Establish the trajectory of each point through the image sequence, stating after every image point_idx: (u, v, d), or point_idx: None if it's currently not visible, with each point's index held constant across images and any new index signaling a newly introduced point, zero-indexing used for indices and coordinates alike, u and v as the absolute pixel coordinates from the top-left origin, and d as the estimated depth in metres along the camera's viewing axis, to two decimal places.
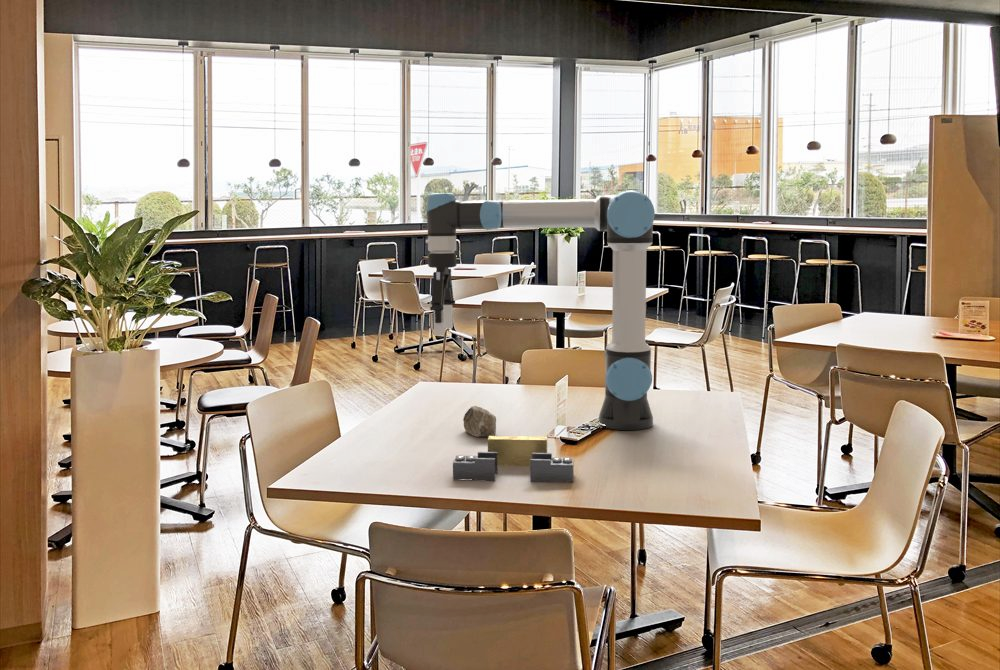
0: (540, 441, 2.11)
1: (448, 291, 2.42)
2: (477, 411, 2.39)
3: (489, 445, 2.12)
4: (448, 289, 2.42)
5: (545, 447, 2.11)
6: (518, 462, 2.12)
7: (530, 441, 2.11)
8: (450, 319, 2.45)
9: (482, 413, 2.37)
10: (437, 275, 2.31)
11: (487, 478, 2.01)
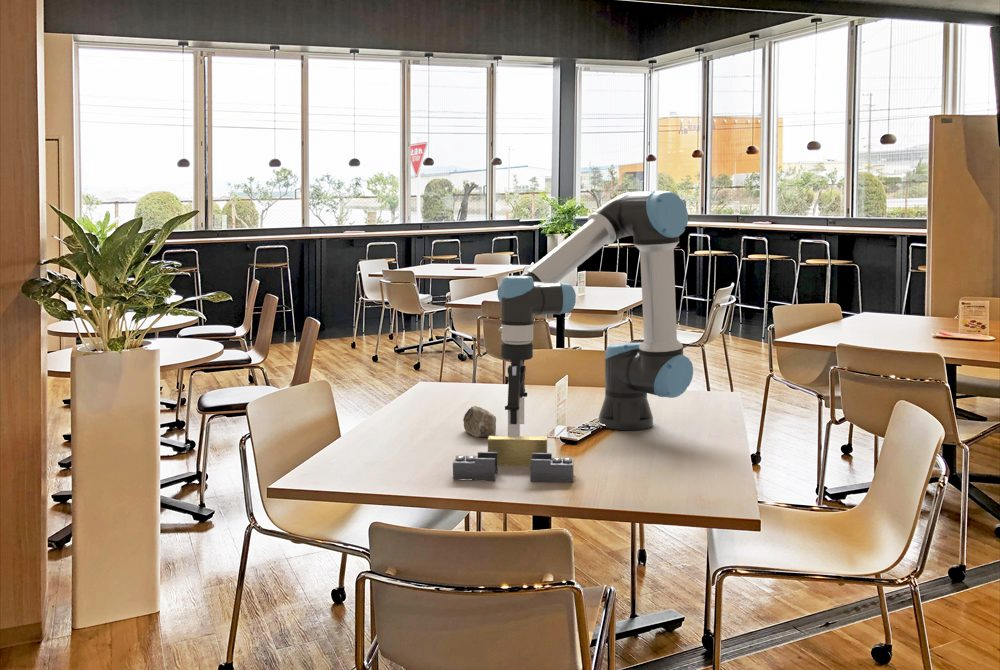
0: (540, 441, 2.11)
1: (521, 384, 2.15)
2: (477, 411, 2.39)
3: (489, 445, 2.12)
4: None
5: (545, 447, 2.11)
6: (518, 462, 2.12)
7: (530, 441, 2.11)
8: (522, 414, 2.18)
9: (482, 413, 2.37)
10: (513, 370, 2.04)
11: (487, 478, 2.01)
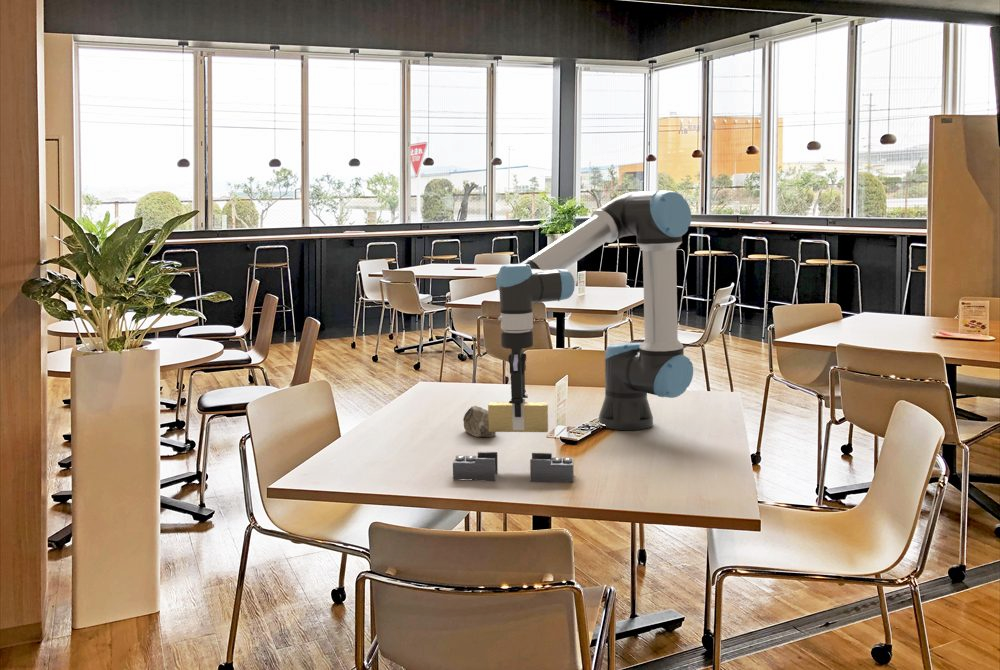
0: (541, 406, 2.10)
1: (522, 378, 2.13)
2: (477, 411, 2.39)
3: (489, 411, 2.12)
4: (522, 375, 2.12)
5: (546, 412, 2.10)
6: None
7: (531, 407, 2.10)
8: None
9: (482, 413, 2.37)
10: (514, 367, 2.04)
11: (487, 478, 2.01)
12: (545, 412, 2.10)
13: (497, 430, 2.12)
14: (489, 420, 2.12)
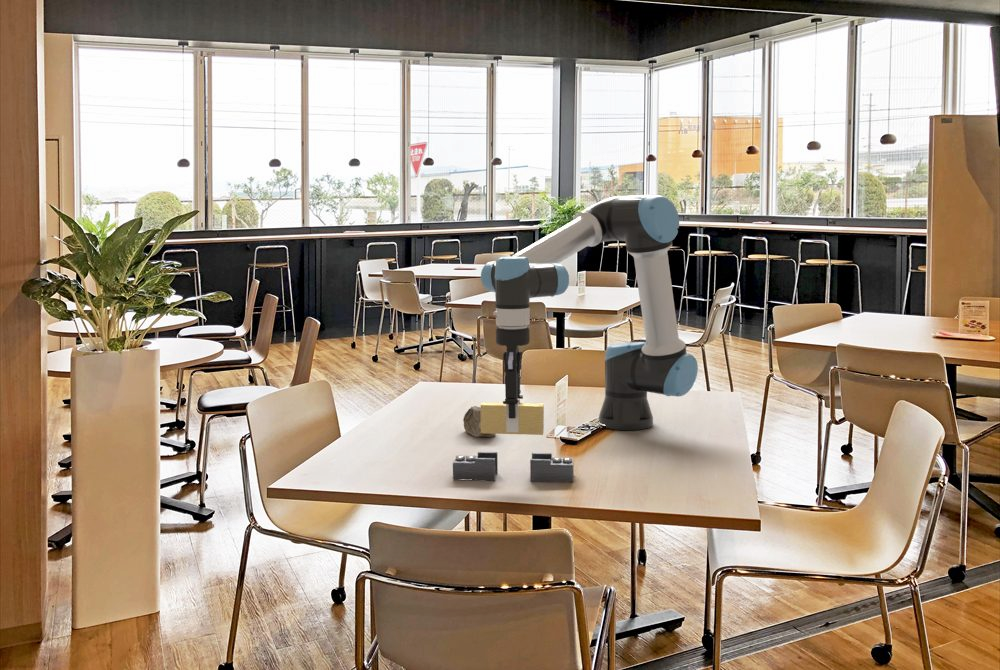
0: (536, 407, 1.99)
1: (517, 377, 2.01)
2: (477, 411, 2.39)
3: (482, 411, 2.00)
4: (517, 374, 2.01)
5: (541, 414, 1.99)
6: None
7: (525, 407, 1.99)
8: None
9: None
10: (509, 365, 1.93)
11: (487, 478, 2.01)
12: (541, 413, 1.99)
13: (489, 431, 2.01)
14: (481, 421, 2.00)
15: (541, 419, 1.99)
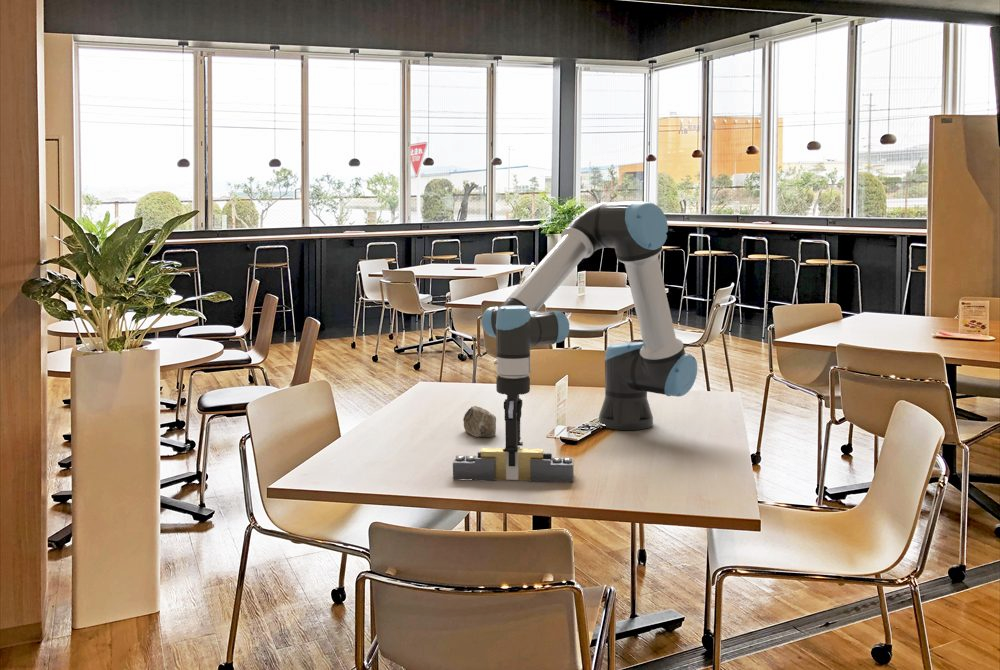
0: (536, 454, 2.00)
1: (517, 424, 2.03)
2: (477, 411, 2.39)
3: None
4: (517, 421, 2.02)
5: None
6: None
7: (525, 454, 2.00)
8: None
9: (482, 413, 2.37)
10: (509, 414, 1.95)
11: (487, 478, 2.01)
12: None
13: None
14: None
15: None
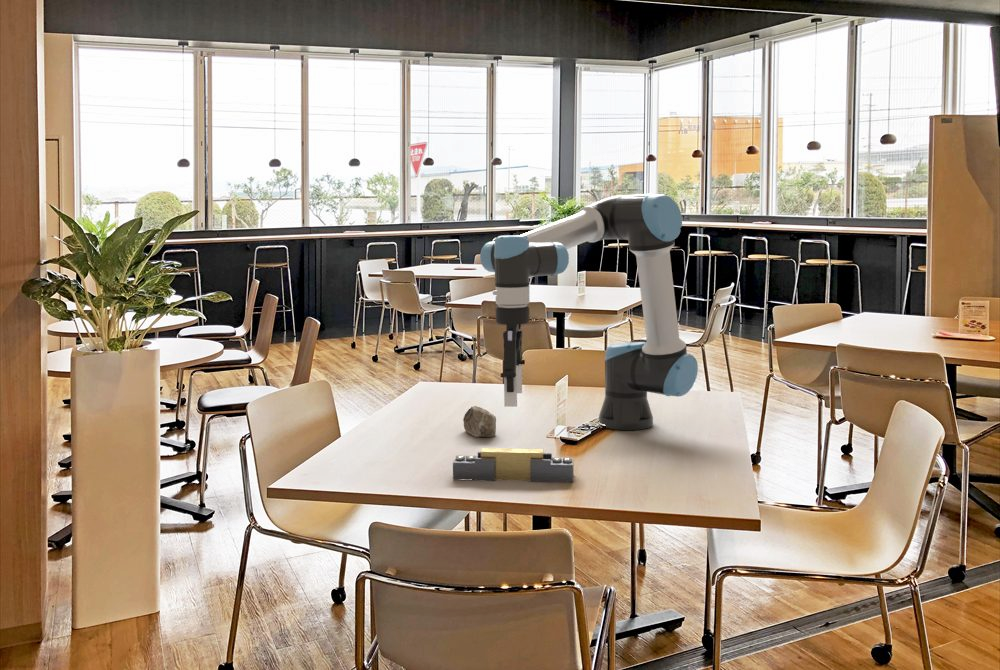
0: (536, 454, 2.00)
1: (518, 350, 2.03)
2: (477, 411, 2.39)
3: None
4: None
5: None
6: (513, 476, 2.01)
7: (525, 454, 2.00)
8: (519, 382, 2.07)
9: (482, 413, 2.37)
10: (509, 335, 1.92)
11: (487, 478, 2.01)
12: None
13: None
14: None
15: None
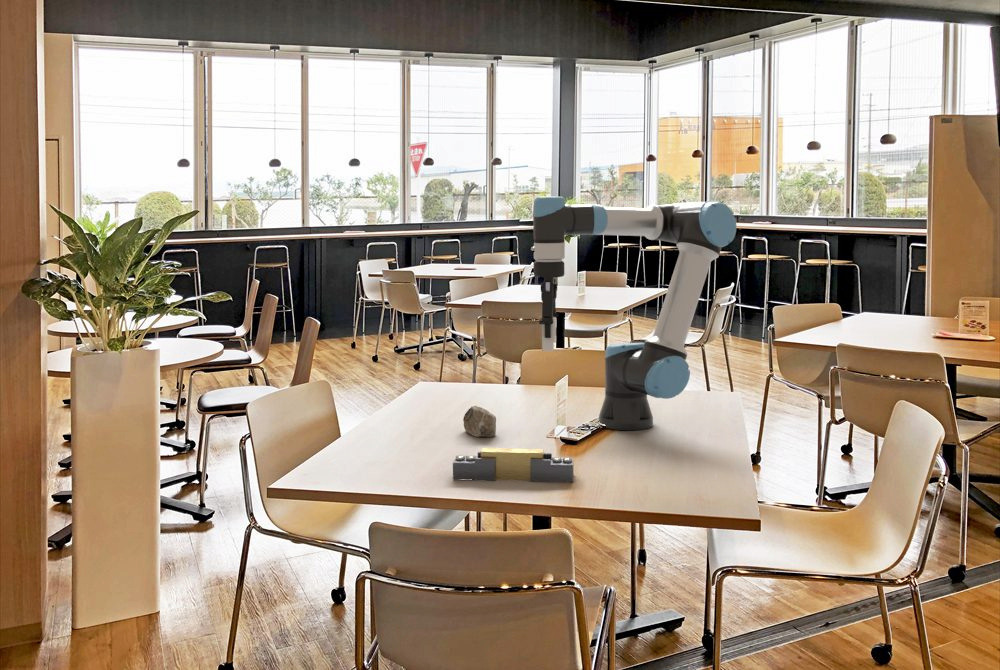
0: (536, 454, 2.00)
1: (553, 302, 2.23)
2: (477, 411, 2.39)
3: None
4: (553, 300, 2.22)
5: None
6: (513, 476, 2.01)
7: (525, 454, 2.00)
8: (553, 333, 2.26)
9: (482, 413, 2.37)
10: (547, 286, 2.11)
11: (487, 478, 2.01)
12: None
13: None
14: None
15: None
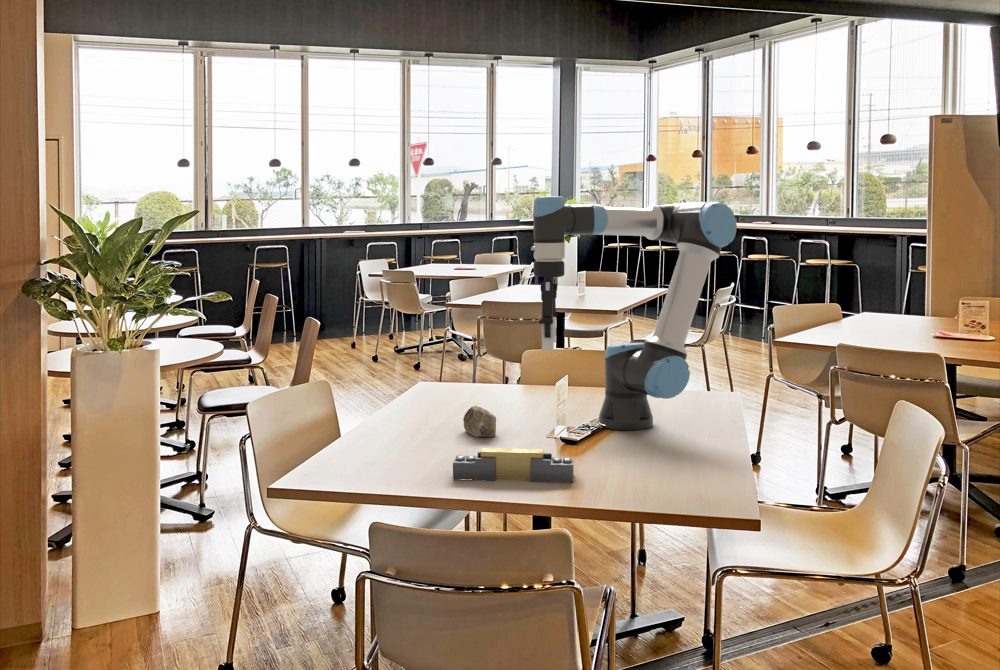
0: (536, 454, 2.00)
1: (553, 302, 2.23)
2: (477, 411, 2.39)
3: None
4: (553, 300, 2.22)
5: None
6: (513, 476, 2.01)
7: (525, 454, 2.00)
8: (553, 332, 2.26)
9: (482, 413, 2.37)
10: (546, 285, 2.11)
11: (487, 478, 2.01)
12: None
13: None
14: None
15: None
